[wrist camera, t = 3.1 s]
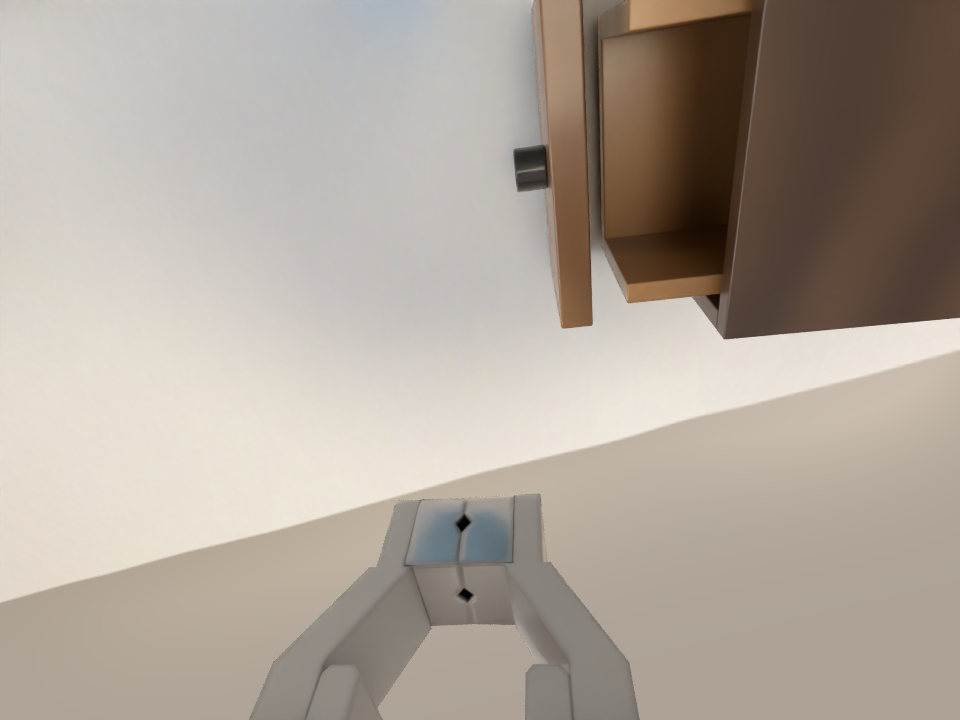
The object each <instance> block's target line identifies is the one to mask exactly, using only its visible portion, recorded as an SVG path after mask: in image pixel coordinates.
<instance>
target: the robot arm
mask: <svg viewBox="0 0 960 720" xmlns="http://www.w3.org/2000/svg"><path fill="white" fill-rule="evenodd" d="M462 624H500V625H516V628H517V630H518V631H519V633H520V635H521V637H522V639H523V640H524V642H525V644H526V646H527V648H528V649H529V651H530V653H531V654H532V656H533V658H534V660H535V662H536V663H537V664H534V665H532V666H531V667H530V669H529V670H528V671H527V672H526V697H525V698H526V699H525V720H639V714H638V709H637V703H636V698H635V692H634V687H633V681H632V675H631V670H630V664H629V662H628V660H627V659H626V658H625V656H624V655H623V654H622V653H621V652H620V650H619V649H618V648H617V646H616V645H615V644H614V642H613V641H612V640H611V639H610V637H609V636H608V635H607V634H606V632H605V631H604V630H603V629H602V627H601V626H600V625H599V623H598V622H597V621H596V620H595V618H594V617H593V616H592V614H591V613H590V612H589V611H588V609H587V608H586V607H585V605H584V604H583V603H582V602H581V600H580V599H579V598H578V597H577V595H576V594H575V593H574V592H573V590H572V589H571V588H570V586H569V585H568V584H567V583H566V581H565V580H564V579H563V577H562V576H561V575H560V574H559V572H558V571H557V570H556V569H555V568H554V566H553V565H552V563H551V562H547V553H546V542H545V532H544V522H543V513H542V504H541V497H540V494H526V495H509V496H492V497H475V498H467V499H465V498H462V499H423V500H399V501H398V502H397V504H396V505H395V506H394V509H393V513H392V516H391V520H390V523H389V526H388V530H387V533H386V536H385V540H384V543H383V547H382V550H381V553H380V557H379V560H378V564H377V567H370V568H368V569H367V570H366V571H365V572H364V573H363V574H362V575H361V576H360V577H359V578H358V579H357V580H356V581H355V582H354V583H353V584H352V585H351V586H350V587H349V588H348V589H347V590H346V591H345V592H344V593H343V594H342V595H341V596H340V597H339V598H338V599H337V600H336V601H335V602H334V603H333V604H332V605H331V606H330V607H329V608H328V609H327V610H326V611H325V612H324V613H323V614H322V615H321V616H320V617H319V618H318V619H317V620H316V621H315V622H314V623H313V624H312V625H311V626H310V627H309V628H308V629H306V630H305V632H303V633H302V634H301V635H300V636H299V637H298V638H297V639H296V640H295V641H294V642H293V643H292V644H291V645H290V646H289V647H288V648H287V649H286V650H285V651H284V652H283V653H282V654H281V655H280V656H279V657H278V658H277V659H276V660H275V661H274V662H273V664H272V667H271V669H270V671H269V674H268V676H267V678H266V681H265V683H264V685H263V688H262V690H261V692H260V695H259V697H258V700H257V702H256V704H255V707H254V709H253V712H252V714H251V716H250V719H249V720H382V718H381V716H380V714H379V711H378V709H377V707H378V706H379V704H380V703H381V702H382V700H383V699H384V697H385V696H386V694H387V693H388V691H389V690H390V688H391V687H392V686H393V684H394V683H395V681H396V680H397V678H398V677H399V675H400V674H401V672H402V671H403V669H404V668H405V667H406V665H407V664H408V662H409V661H410V659H411V658H412V656H413V655H414V653H415V652H416V650H417V649H418V648H419V646H420V644H421V643H422V642H423V640H424V639H425V637H426V636H427V634H428V633H429V631H430V630H431V626H437V625H438V626H439V625H462Z"/></svg>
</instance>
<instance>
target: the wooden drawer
mask: <svg viewBox="0 0 960 720" xmlns="http://www.w3.org/2000/svg"><path fill="white" fill-rule="evenodd" d="M752 5H753V0H627V1H625V2H623V3H621V4H620V5H618V6H616V7H614V8H613V9H611V10H609V11H607V12H606V13H604V14H602V15H601V16H600V17H598V54H599V105H600V156H601V207H602V249H603V251H604V253H605V256H606V258H607V260H608V262H609V264H610V267H611V269H612V271H613V273H614V275H615V277H616V280H617V282H618V284H619V286H620V288H621V290H622V292H623V295H624V297H625V299H626V301H627V303H635V302H645V301H654V300H664V299H674V298H683V297H693V296H703V295H712V294H721V286H722V277H723V268H724V259H725V249H726V240H727V231H728V222H729V213H730V204H731V195H732V186H733V177H734V168H735V159H736V150H737V141H738V132H739V123H740V114H741V104H742V95H743V86H744V77H745V68H746V59H747V50H748V41H749V32H750V23H751V14H752ZM532 23H533V36H534V50H535V63H536V76H537V90H538V103H539V116H540V129H541V143H542V145H538V146H531V147H524V148H518V149H514V151H513V153H514V165H515V175H516V184H517V191H518V192H524V191H532V190H539V189H545V196H546V209H547V222H548V236H549V249H550V262H551V270H552V276H553V282H554V288H555V294H556V299H557V305H558V311H559V317H560V323H561V327H562V328H573V327H583V326H591V325H592V324H593V316H592V285H591V254H590V223H589V191H588V160H587V129H586V98H585V67H584V36H583V5H582V0H534V3H533V6H532Z"/></svg>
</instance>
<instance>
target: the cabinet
mask: <svg viewBox="0 0 960 720" xmlns="http://www.w3.org/2000/svg"><path fill="white" fill-rule="evenodd" d="M693 299H694V300H695V301H696V303H697V304H698V305H699V307H700V308H701V309H702V311H703V312H704V313H705V315H706V316H707V317H708V319H709V320H710V321H711V323H712V324H713V325H714V327H715V328H716V329H717V331H718V332H719V333H720V335H721V336H722V337H723V339H734V338H745V337H756V336H767V335H778V334H788V333H799V332H810V331H821V330H832V329H843V328H854V327H864V326H875V325H886V324H897V323H908V322H919V321H930V320H941V319H951V318H960V0H753V5H752V14H751V23H750V32H749V41H748V50H747V59H746V68H745V77H744V86H743V95H742V104H741V114H740V123H739V132H738V141H737V150H736V159H735V168H734V177H733V186H732V195H731V204H730V213H729V222H728V231H727V240H726V249H725V259H724V268H723V277H722V286H721V294H712V295H703V296H693Z"/></svg>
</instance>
